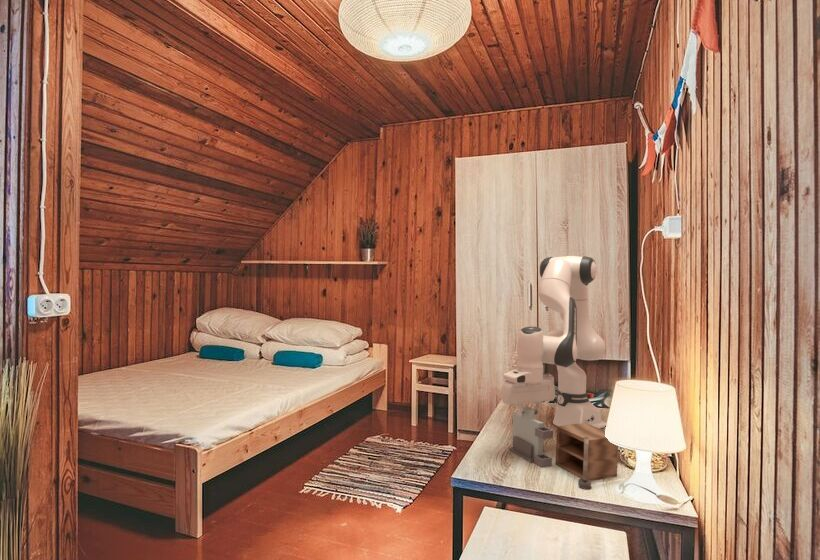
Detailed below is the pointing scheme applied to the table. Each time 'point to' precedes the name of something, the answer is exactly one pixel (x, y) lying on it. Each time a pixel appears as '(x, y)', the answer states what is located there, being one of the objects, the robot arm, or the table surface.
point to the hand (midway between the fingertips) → (528, 415)
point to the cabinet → (586, 453)
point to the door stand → (522, 449)
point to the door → (532, 434)
